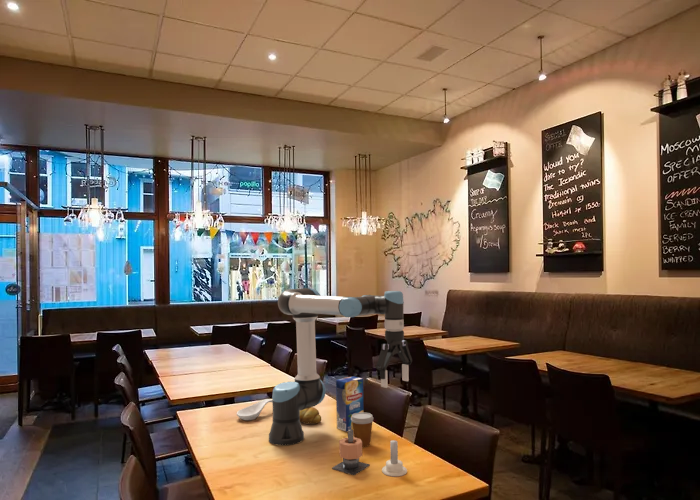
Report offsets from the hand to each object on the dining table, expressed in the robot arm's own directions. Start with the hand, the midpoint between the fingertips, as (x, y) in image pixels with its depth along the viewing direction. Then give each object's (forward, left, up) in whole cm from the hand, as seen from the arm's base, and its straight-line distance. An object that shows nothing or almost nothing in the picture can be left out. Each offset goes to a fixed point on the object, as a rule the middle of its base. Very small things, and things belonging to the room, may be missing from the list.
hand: (395, 384), depth 185 cm
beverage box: (-34, +17, -28) cm, 47 cm away
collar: (-8, -19, -23) cm, 31 cm away
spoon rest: (-83, +5, -28) cm, 88 cm away
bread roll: (-55, +12, -28) cm, 63 cm away
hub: (+7, -13, -28) cm, 31 cm away
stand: (-8, -19, -28) cm, 35 cm away
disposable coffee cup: (-17, +2, -28) cm, 33 cm away
